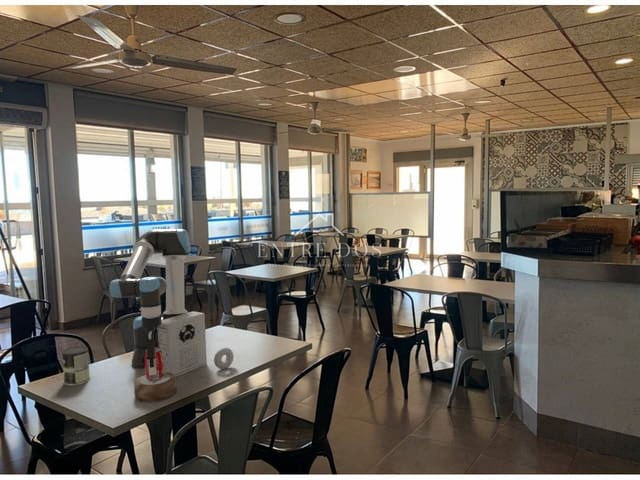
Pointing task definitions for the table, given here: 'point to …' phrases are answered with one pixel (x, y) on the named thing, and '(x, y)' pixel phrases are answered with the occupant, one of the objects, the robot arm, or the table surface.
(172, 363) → the cereal box
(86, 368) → the coffee can
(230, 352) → the donut
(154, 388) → the round wooden stand
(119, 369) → the table surface
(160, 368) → the soda can
